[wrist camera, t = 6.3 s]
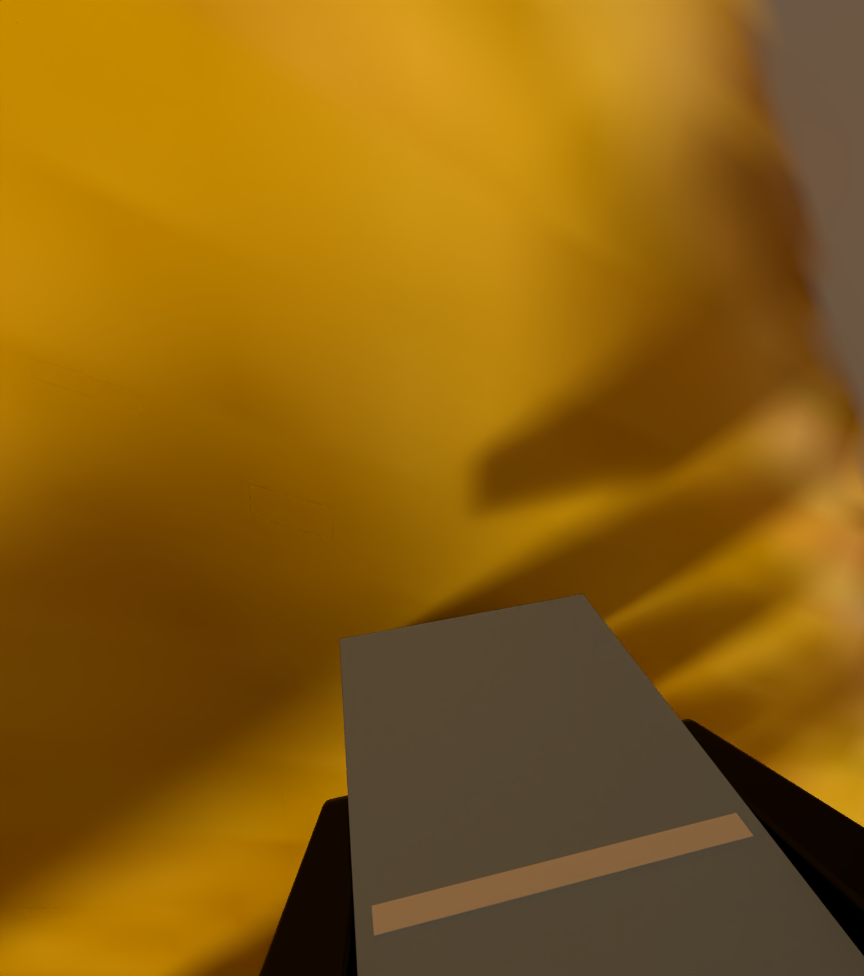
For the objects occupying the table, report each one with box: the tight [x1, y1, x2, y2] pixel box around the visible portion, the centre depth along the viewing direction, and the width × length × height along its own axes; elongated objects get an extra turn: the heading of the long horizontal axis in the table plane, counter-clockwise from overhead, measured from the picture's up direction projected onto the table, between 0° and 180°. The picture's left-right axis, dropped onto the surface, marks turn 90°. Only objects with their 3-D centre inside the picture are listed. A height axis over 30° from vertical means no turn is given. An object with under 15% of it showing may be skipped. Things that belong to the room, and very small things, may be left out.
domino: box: [340, 594, 864, 976], centre depth 7 cm, size 2×5×10 cm, turn 95°
